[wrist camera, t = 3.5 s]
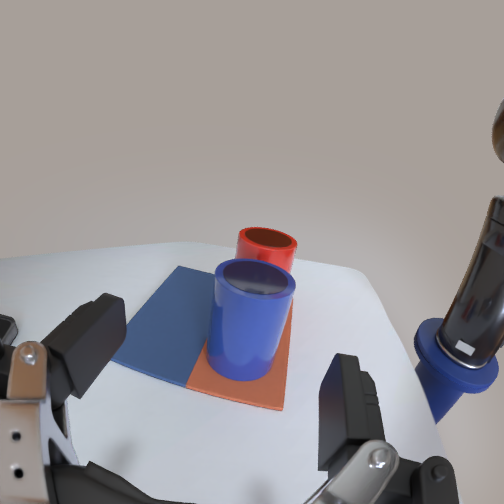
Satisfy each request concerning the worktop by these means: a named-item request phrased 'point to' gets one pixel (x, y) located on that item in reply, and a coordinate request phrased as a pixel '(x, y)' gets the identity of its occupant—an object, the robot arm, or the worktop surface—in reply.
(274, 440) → the worktop surface
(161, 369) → the sorting mat
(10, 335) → the phone
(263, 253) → the red beaker
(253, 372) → the blue beaker
